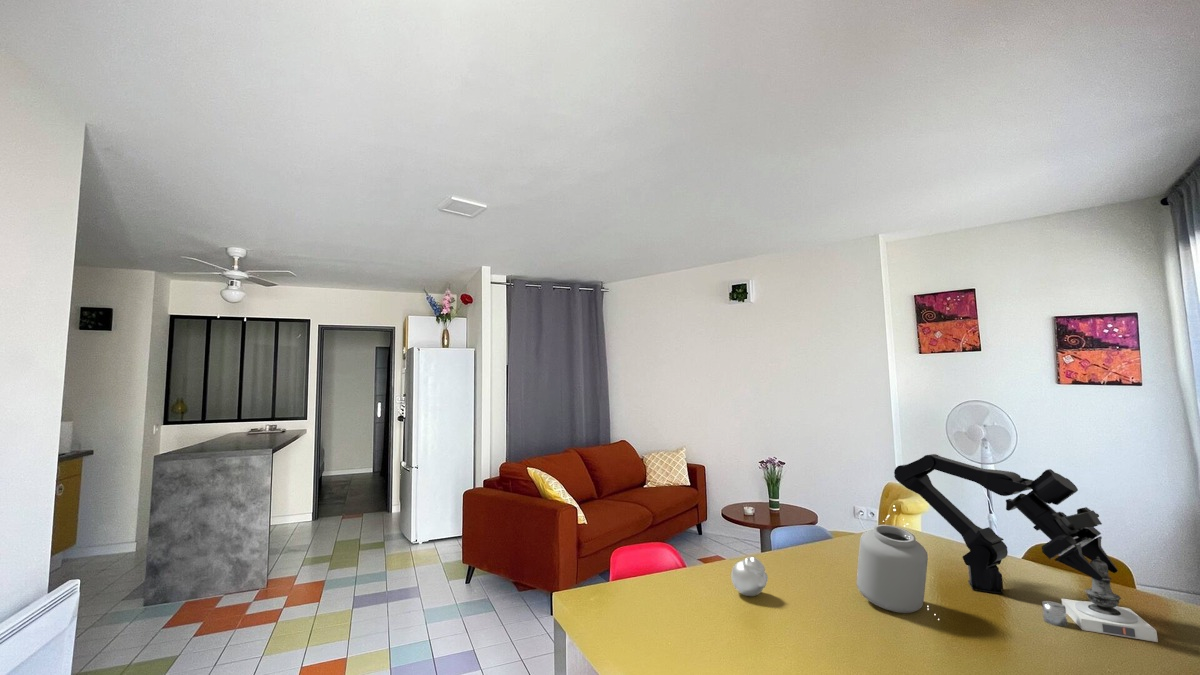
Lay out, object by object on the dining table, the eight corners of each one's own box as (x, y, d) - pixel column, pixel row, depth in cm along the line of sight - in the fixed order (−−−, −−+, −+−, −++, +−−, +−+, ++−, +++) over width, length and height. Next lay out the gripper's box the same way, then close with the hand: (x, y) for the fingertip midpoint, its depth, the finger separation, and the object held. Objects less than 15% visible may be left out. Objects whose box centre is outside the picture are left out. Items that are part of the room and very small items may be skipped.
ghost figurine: (749, 605, 123) (747, 564, 125) (725, 591, 132) (723, 553, 133) (776, 599, 127) (774, 559, 128) (751, 586, 136) (749, 548, 137)
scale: (1083, 631, 109) (1081, 616, 109) (1062, 608, 120) (1061, 596, 120) (1159, 643, 103) (1157, 628, 103) (1130, 618, 114) (1128, 605, 114)
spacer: (1047, 624, 112) (1045, 606, 112) (1041, 617, 115) (1039, 599, 116) (1070, 628, 110) (1068, 609, 111) (1063, 620, 114) (1061, 602, 114)
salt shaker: (1121, 618, 108) (1114, 562, 109) (1084, 609, 113) (1078, 555, 114) (1124, 611, 112) (1117, 556, 113) (1088, 602, 116) (1082, 550, 118)
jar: (955, 621, 114) (945, 511, 117) (900, 627, 111) (892, 514, 114) (893, 589, 132) (886, 495, 135) (845, 594, 129) (838, 497, 132)
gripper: (1053, 501, 114) (1126, 564, 103) (1084, 492, 123) (1155, 550, 112) (1015, 527, 120) (1081, 590, 109) (1048, 517, 129) (1111, 575, 118)
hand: (1109, 575), depth 112 cm, fingers open, 9 cm apart
